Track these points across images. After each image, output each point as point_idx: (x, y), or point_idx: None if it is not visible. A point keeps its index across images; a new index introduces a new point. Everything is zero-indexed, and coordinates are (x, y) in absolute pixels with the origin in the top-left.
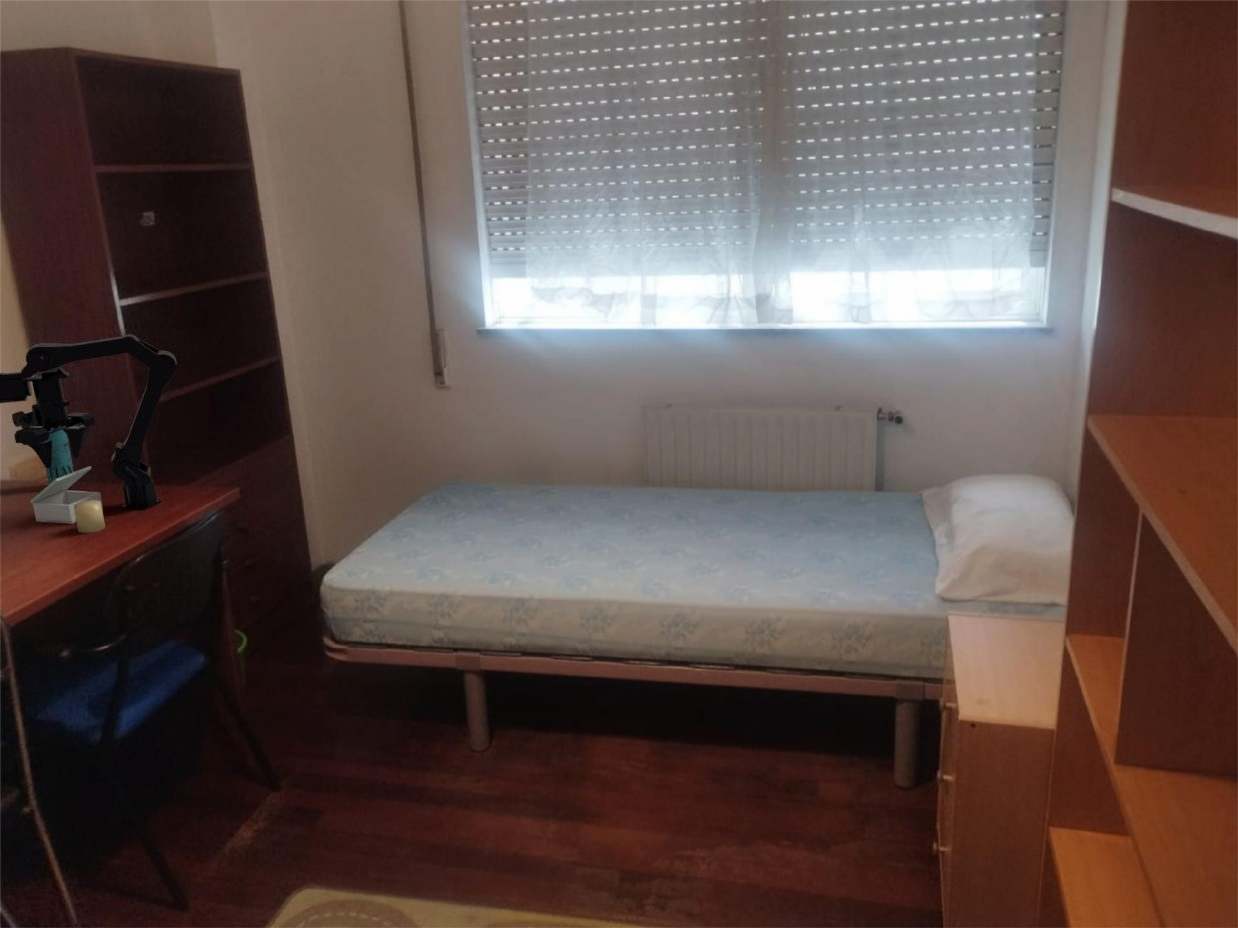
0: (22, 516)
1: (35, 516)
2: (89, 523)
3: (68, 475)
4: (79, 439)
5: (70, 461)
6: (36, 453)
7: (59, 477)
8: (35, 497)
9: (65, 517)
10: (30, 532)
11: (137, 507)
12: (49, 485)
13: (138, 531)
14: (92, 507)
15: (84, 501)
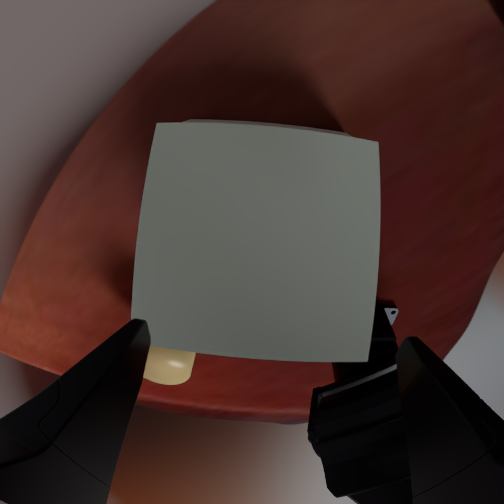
0: (234, 28)
1: (185, 121)
2: None
3: (208, 352)
4: (418, 481)
5: None
6: (39, 393)
7: None
8: (149, 165)
9: None
10: (106, 183)
11: None
12: (134, 284)
13: (189, 385)
14: (148, 377)
15: (173, 351)
